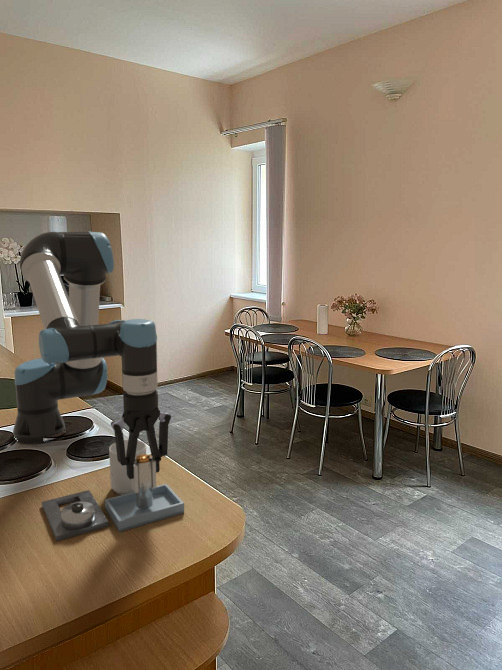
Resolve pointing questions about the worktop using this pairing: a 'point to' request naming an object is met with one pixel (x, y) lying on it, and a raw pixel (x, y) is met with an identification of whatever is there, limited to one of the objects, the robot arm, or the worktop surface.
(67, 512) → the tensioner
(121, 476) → the mug
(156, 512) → the tray
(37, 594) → the worktop surface
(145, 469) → the pin
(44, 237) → the robot arm
